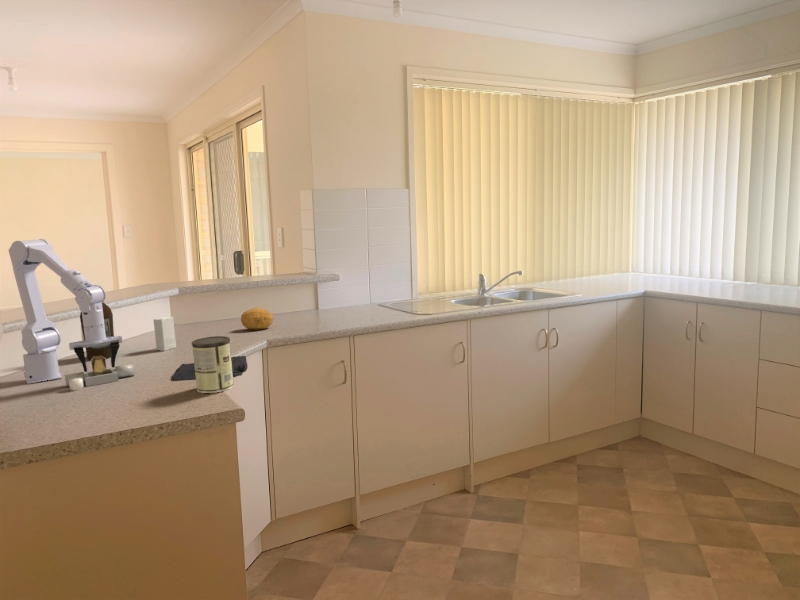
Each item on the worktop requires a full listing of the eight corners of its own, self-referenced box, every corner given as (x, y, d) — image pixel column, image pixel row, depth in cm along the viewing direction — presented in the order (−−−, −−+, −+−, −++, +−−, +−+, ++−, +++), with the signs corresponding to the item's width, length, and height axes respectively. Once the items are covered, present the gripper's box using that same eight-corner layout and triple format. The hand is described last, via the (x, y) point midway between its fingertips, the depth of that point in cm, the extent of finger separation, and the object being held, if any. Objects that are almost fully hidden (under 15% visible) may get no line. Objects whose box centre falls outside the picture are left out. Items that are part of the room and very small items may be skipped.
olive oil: (83, 357, 223) (75, 289, 219) (114, 352, 229) (107, 286, 225) (87, 362, 214) (78, 292, 210) (119, 357, 220) (111, 288, 216)
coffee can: (202, 384, 177) (197, 337, 175) (237, 382, 177) (233, 335, 175) (191, 394, 167) (186, 344, 165) (229, 392, 167) (224, 342, 165)
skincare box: (168, 347, 233) (164, 316, 231) (177, 347, 231) (173, 316, 229) (155, 350, 227) (152, 319, 226) (164, 351, 226) (161, 319, 224)
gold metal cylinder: (93, 383, 185) (90, 359, 183) (93, 380, 188) (90, 356, 187) (108, 381, 186) (105, 357, 185) (107, 378, 190) (104, 354, 189)
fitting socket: (67, 389, 178) (65, 378, 178) (65, 383, 186) (63, 372, 185) (136, 377, 188) (134, 366, 188) (131, 372, 196) (130, 361, 195)
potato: (270, 308, 256) (271, 303, 265) (238, 312, 253) (239, 307, 262) (273, 330, 258) (274, 324, 267) (241, 334, 256) (243, 328, 265)
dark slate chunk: (182, 370, 197) (181, 356, 196) (251, 365, 198) (249, 351, 198) (168, 383, 182) (166, 368, 181) (242, 378, 183) (241, 363, 182)
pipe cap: (70, 391, 176) (69, 381, 176) (69, 389, 179) (68, 379, 179) (84, 389, 178) (83, 379, 178) (83, 386, 181) (82, 377, 181)
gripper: (68, 330, 177) (74, 375, 179) (121, 324, 185) (126, 367, 187) (66, 327, 183) (72, 371, 185) (118, 321, 191) (123, 363, 193)
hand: (99, 369), depth 187 cm, fingers open, 7 cm apart
